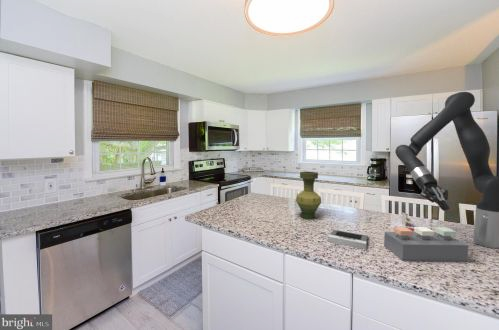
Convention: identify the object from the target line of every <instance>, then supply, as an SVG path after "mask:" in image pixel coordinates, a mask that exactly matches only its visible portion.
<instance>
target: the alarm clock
mask: <svg viewBox="0 0 499 330" xmlns="http://www.w3.org/2000/svg"><path fill="white" fill-rule="evenodd" d="M368 240H369V234H367V233H365V234H364V233H360V232H353V231H348V230H343V229H336V228H333V229H332V231H331V232H330V234H329V235H327V242H329V243H331V244H332V243H333V244H338V245H341V246H348V247H352V248H356V249H362V250H367V242H368Z"/></svg>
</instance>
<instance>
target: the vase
mask: <svg viewBox="0 0 499 330" xmlns="http://www.w3.org/2000/svg"><path fill="white" fill-rule="evenodd" d="M299 178H300V179H302V181H303V190H302V191H301V192H299V193H298V194H297V195H296V197H295V198H296V199H295V202H296V203H297V206H298V208H299V209H300V211H301V215H300V218H301V219H303V220H308V221H309V220H310V221H311V220H315V219H316V211H317V210H318V208H319V207H320V205H321V204H322V197H321V196H320V195H319V194H318V193H316V191H314V184H315V181H316V180H317V179H318V178H319V173H318V172H317V171H301V172H300V173H299Z"/></svg>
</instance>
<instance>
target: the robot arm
mask: <svg viewBox="0 0 499 330" xmlns="http://www.w3.org/2000/svg"><path fill="white" fill-rule="evenodd" d="M475 102H476V99H475V96H474V94H473V93H471V92H470V91H460V92H456V93H453V94H451V95H449V96H448V97H447V98H446V99H445V102H444V108H443V109H442V110H441V111H440V112H439V113H437V114H436V115H435V116H434V118H432V119H431V120H429V121H428V122H426V124H424V125H422V127H420V128H419V130H418V131H416V132H415V133H414V134H413V135H412V137H410V143H409V144H408V145H407V144H400V145H398V146H397V147H396V149H395V150H394V151H395V156H396V157H397V159H399V161H400V162H401V163H402V164H403V166H405V168H406V169H407V171H408V172H409V174H410V175H411V177H412V180H414V182H415V184H416V185H417V186H418V188H419V189H420V190H422V192H420V196H421V197H423V198H425V199H426V200H428V201H429V202H430V203H436V204H437V205H438V207H439V208H440V209H441V210H442V211H444V212H445V211H448V210H450V206H449V205H448V203H447V201H448V200H449V191H448V190H447V189H445V190H444V189H442V188H441V186H439V185H438V183H439V181H438V180H437V179H436V178H435V176H434V175H433V174H432V172H431V171H430V170H429V169H428V168H427V166H425V164H424V163H423V161H422V160H421V159H419V158H418V157H417V156H418V155H419V153H420V152H421V151H422V149H423V148H424V146H425V145H427V143H429V142H430V141H431V140H432V139H433V138H434V137H435V136H436V135H438V134H439V133H440V131H442V130H443V129H444V128H445V127H446V126H447V125H448V124H450V123H451V122H452V123H453V126H454V128H455V131H456V135H457V138H458V141H459V143H460V146H461V149H462V151H463V153H464V157H465V159H466V162H467V164H468V166H469V168H470V172H471V173H470V174H471V178H472V182H473V185H474V187H475V190H477V191H478V192H479V193H482V194H483V195H482V199H481V200H479V201H478V200H477V202H476V205H475V214H474V215H475V216H474V217H475V218H474V228H473V229H474V230H473V240H472V241H473V243H475V244H476V245H479V246H481V247H486V248H491V249H499V176H496V175H494V174H493V172H492V169H491V167H490V164H489V161H490V160H489V159H490V155H491V146H490V143H489V141H488V138H487V135H486V133H485V131H484V130H483V129H482V127H480V125H479V124H478V123H477V122H476V120H475V119H474V117H473V114H472V111H471V108H472V107H473V106H474V105H475Z"/></svg>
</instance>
